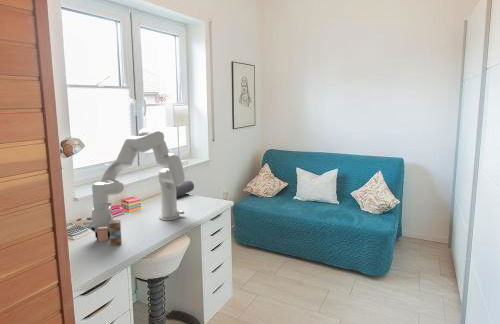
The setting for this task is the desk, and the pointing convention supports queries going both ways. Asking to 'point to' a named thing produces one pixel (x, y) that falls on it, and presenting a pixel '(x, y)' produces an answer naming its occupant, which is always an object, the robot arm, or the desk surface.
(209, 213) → the desk surface
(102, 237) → the terracotta cube
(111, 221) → the tower
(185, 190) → the bluetooth speaker
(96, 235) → the robot arm
